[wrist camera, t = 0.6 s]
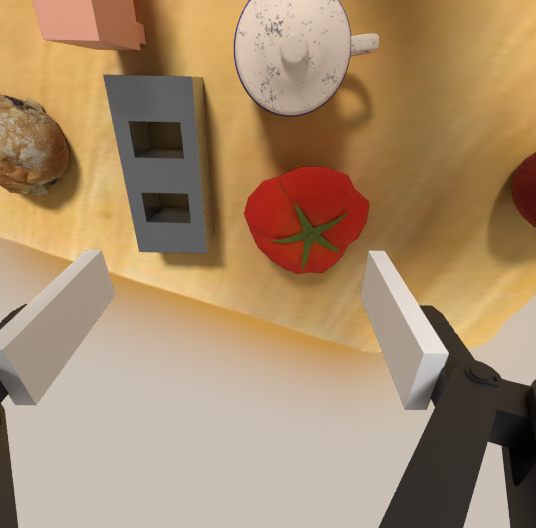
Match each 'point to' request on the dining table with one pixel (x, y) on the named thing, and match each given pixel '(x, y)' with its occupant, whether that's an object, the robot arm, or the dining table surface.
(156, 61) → the dining table surface
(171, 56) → the dining table surface
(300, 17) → the teacup with lid
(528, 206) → the apple
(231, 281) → the dining table surface
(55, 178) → the bread roll
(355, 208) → the tomato
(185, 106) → the grey rectangular block
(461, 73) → the dining table surface
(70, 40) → the chamfered pink post
